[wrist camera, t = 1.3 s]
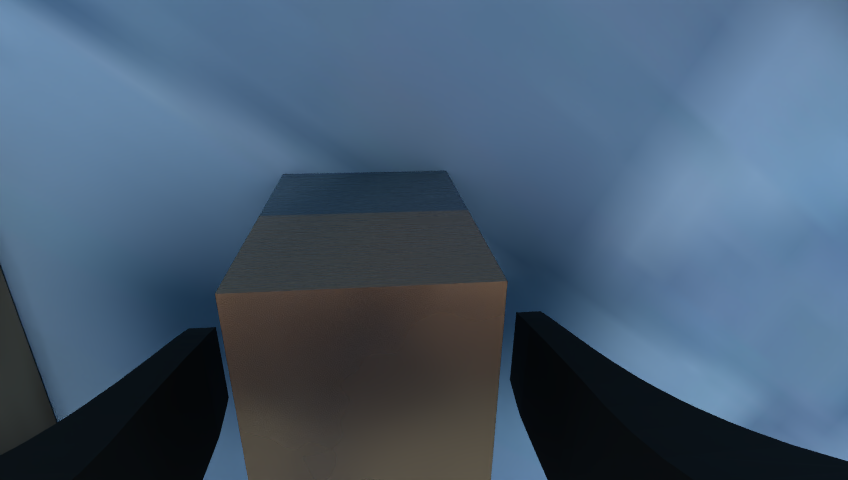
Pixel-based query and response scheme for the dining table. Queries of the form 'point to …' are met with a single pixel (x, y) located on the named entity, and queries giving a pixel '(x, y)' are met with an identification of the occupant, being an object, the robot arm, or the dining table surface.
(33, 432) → the walnut stand
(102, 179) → the dining table surface
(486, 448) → the brown rectangular block
